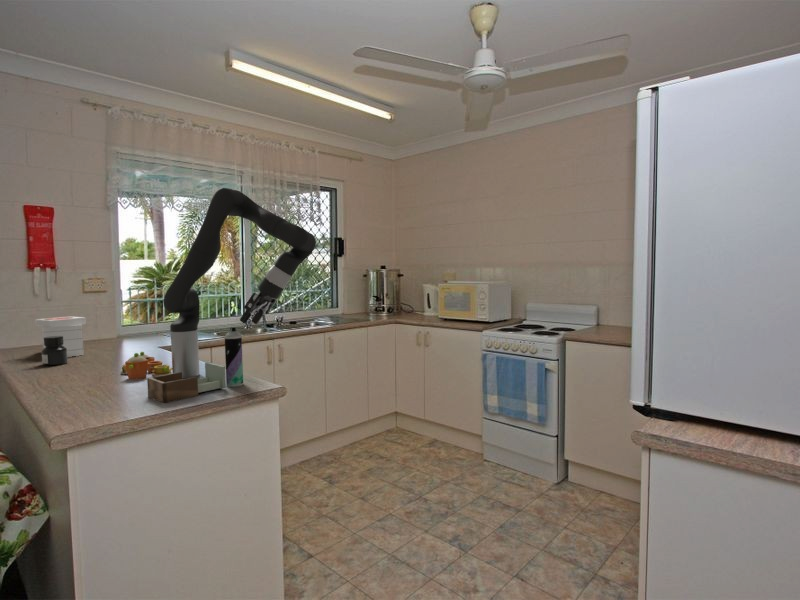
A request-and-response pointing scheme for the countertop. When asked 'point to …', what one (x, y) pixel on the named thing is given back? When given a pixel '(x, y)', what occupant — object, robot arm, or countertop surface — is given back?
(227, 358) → the spray can
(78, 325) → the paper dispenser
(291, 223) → the robot arm
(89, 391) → the countertop surface
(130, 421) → the countertop surface
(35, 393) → the countertop surface
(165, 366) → the toy tea set
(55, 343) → the ink bottle
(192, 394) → the frame
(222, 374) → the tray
